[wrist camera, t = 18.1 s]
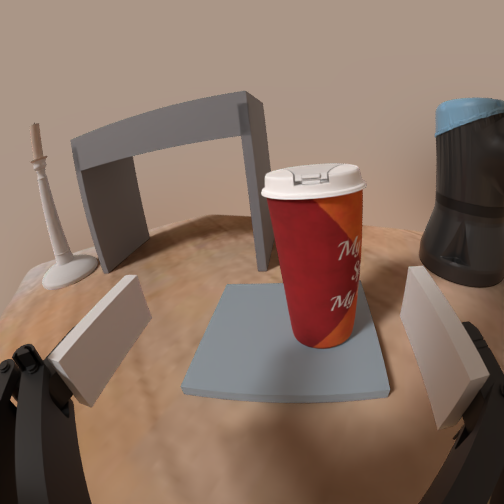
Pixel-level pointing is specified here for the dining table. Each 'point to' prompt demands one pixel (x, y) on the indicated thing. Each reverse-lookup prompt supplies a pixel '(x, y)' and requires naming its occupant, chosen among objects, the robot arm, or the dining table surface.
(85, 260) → the candlestick
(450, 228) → the robot arm
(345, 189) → the paper cup
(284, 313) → the mat
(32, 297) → the dining table surface
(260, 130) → the shelf riser
